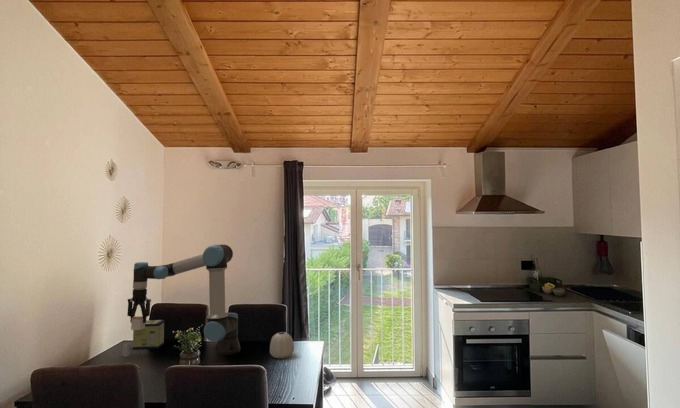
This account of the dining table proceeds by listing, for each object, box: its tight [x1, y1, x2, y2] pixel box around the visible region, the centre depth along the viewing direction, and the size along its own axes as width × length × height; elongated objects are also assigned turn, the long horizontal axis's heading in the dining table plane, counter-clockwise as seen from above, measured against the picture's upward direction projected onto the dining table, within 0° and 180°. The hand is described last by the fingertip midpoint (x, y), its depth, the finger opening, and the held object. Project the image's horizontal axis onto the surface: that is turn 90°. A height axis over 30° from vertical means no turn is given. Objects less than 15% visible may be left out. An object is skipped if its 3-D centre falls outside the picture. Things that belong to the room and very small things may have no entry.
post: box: [122, 342, 131, 358], centre depth 226 cm, size 3×3×7 cm
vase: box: [269, 331, 295, 359], centre depth 224 cm, size 14×14×13 cm
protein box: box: [132, 319, 165, 350], centre depth 245 cm, size 10×16×16 cm
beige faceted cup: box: [130, 315, 143, 331], centre depth 228 cm, size 5×5×7 cm
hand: (137, 328), depth 228 cm, fingers closed on beige faceted cup, 5 cm apart
